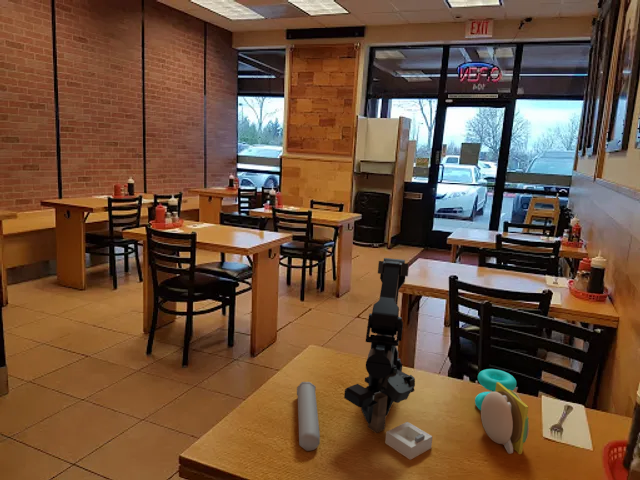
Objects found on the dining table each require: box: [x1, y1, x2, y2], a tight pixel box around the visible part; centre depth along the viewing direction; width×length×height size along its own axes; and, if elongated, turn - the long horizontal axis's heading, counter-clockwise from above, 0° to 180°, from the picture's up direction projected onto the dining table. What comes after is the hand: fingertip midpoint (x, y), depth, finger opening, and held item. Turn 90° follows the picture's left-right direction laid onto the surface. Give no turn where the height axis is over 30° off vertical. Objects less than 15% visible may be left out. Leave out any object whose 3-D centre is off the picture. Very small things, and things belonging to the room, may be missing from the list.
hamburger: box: [480, 382, 530, 455], centre depth 116 cm, size 12×8×12 cm
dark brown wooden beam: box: [367, 392, 387, 434], centre depth 118 cm, size 3×3×9 cm
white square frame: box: [385, 421, 433, 461], centre depth 112 cm, size 8×8×4 cm
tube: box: [296, 381, 321, 452], centre depth 120 cm, size 5×5×25 cm
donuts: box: [474, 368, 517, 411], centre depth 131 cm, size 10×10×10 cm
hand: (376, 419), depth 119 cm, fingers open, 6 cm apart
